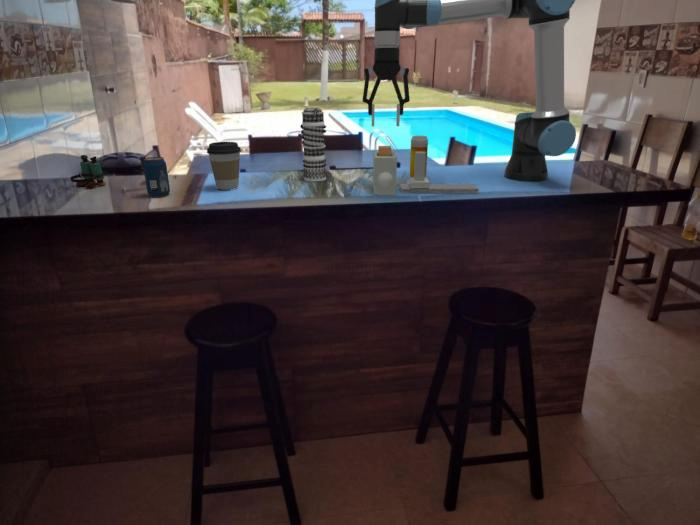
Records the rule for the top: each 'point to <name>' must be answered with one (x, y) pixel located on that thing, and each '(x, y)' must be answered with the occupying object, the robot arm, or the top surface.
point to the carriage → (419, 172)
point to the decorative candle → (313, 144)
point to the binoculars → (89, 173)
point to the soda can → (156, 177)
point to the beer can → (418, 146)
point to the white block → (384, 174)
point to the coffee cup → (225, 164)
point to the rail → (440, 188)
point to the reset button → (384, 150)
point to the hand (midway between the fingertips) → (385, 125)
